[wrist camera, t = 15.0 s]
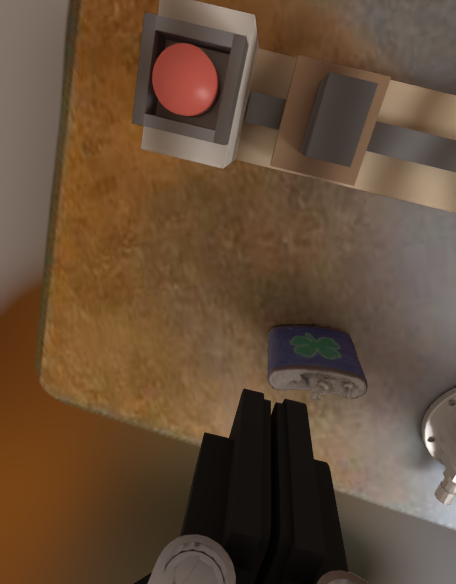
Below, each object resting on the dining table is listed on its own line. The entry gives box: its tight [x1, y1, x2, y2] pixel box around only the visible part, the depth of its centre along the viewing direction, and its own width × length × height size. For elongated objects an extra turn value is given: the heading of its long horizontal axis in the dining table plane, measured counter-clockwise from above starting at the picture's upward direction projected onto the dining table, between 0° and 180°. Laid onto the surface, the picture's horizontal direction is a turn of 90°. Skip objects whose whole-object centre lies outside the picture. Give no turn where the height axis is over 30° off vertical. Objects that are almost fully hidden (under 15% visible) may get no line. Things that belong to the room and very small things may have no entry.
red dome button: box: [152, 43, 221, 117], centre depth 23 cm, size 4×4×3 cm
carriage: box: [270, 55, 391, 186], centre depth 29 cm, size 7×8×9 cm
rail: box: [132, 0, 456, 213], centre depth 29 cm, size 29×9×14 cm, turn 78°
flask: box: [267, 324, 367, 401], centre depth 39 cm, size 9×3×11 cm, turn 87°
